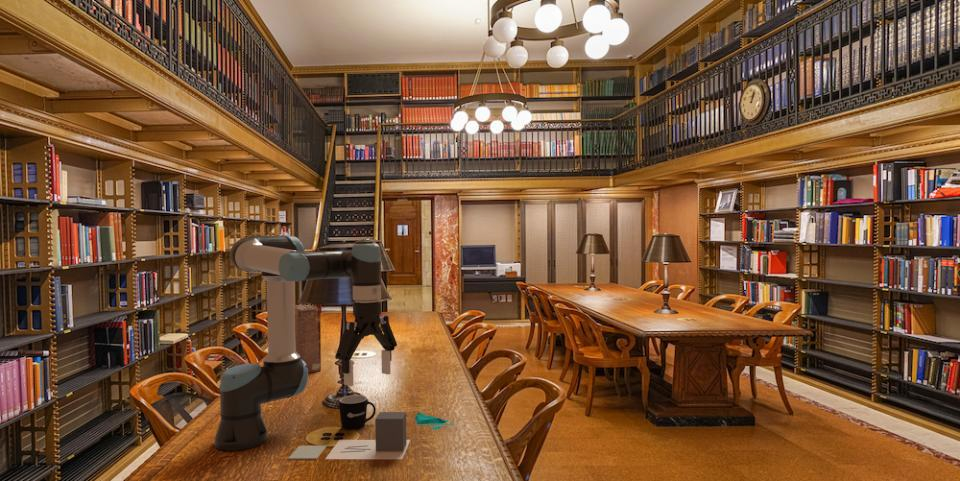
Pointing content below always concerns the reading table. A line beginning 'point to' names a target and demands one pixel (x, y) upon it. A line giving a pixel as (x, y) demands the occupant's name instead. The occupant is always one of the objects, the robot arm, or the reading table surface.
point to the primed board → (361, 450)
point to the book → (308, 336)
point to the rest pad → (307, 452)
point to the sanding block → (390, 432)
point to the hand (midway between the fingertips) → (368, 379)
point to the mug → (354, 411)
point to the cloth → (430, 421)
